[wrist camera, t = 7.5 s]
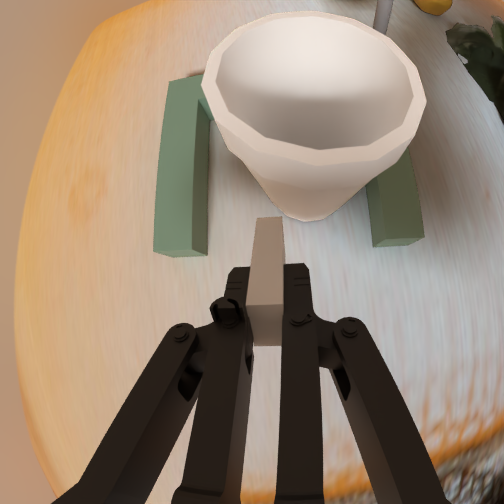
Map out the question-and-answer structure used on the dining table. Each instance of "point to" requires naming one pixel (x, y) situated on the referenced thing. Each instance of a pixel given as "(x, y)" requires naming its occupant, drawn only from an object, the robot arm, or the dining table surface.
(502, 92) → the rose bouquet
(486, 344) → the dining table surface
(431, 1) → the dumbbell
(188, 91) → the putting pocket
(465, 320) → the dining table surface
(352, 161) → the foam cup
